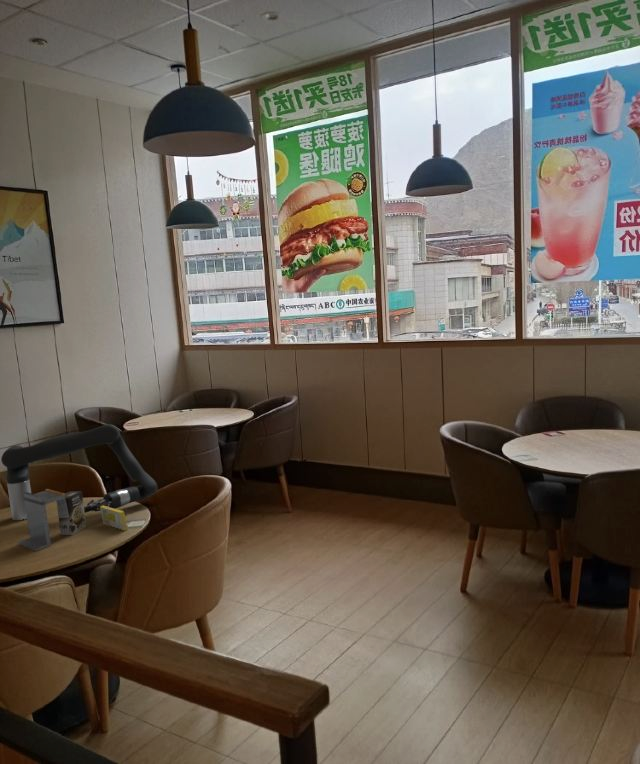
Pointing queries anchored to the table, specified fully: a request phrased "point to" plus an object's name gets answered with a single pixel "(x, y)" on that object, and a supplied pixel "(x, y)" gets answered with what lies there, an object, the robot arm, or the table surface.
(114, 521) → the candy box
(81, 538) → the table surface
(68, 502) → the coffee box
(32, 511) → the grey metal stand
